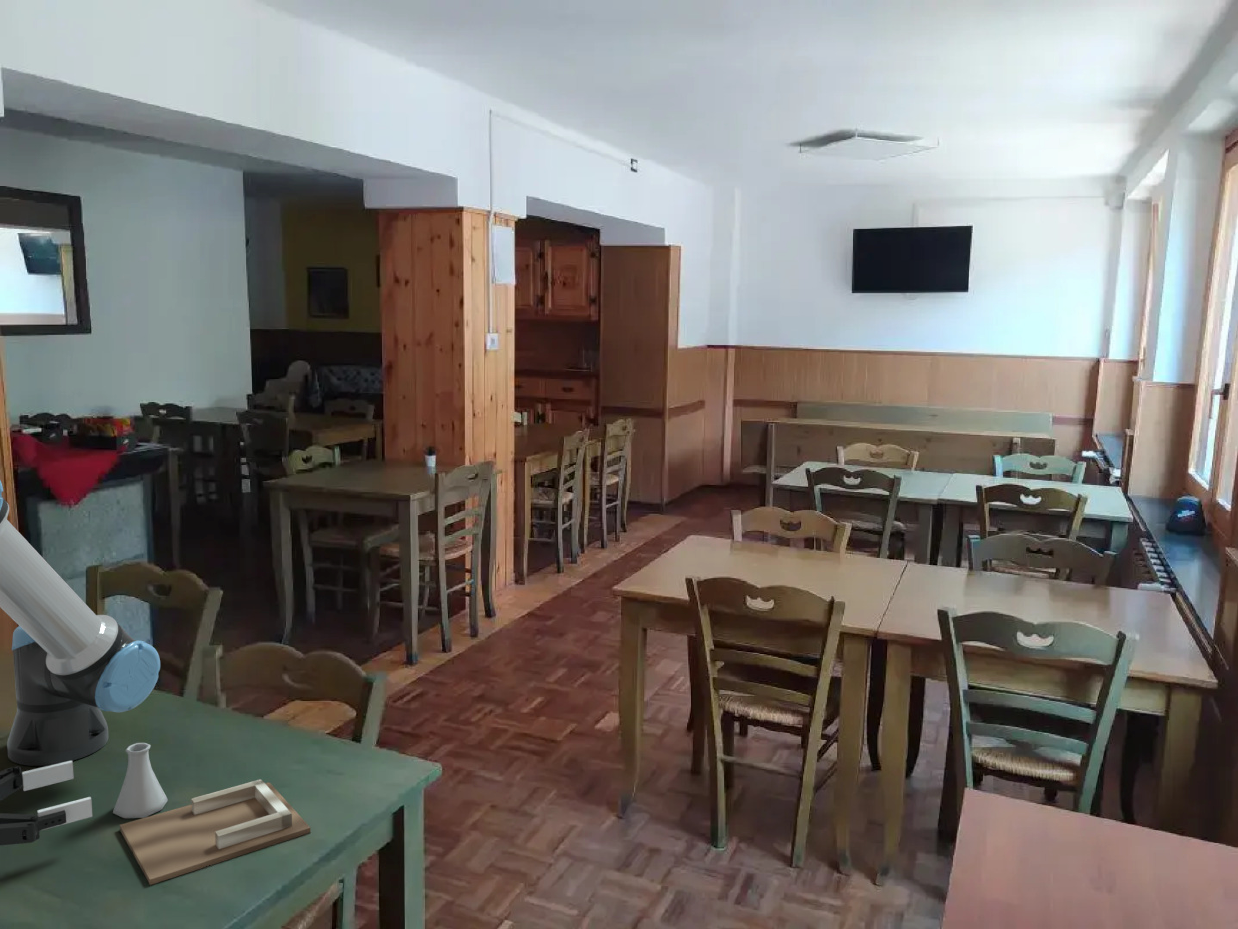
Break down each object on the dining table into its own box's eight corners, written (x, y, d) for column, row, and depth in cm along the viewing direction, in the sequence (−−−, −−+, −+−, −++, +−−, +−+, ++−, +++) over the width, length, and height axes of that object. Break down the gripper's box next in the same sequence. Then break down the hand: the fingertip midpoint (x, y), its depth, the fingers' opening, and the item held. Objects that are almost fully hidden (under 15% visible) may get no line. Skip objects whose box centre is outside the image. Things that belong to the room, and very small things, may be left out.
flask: (145, 823, 141) (142, 760, 140) (103, 816, 143) (100, 754, 141) (177, 799, 148) (174, 740, 147) (136, 793, 150) (133, 734, 148)
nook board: (119, 830, 139) (119, 812, 139) (269, 787, 153) (269, 770, 153) (150, 885, 126) (149, 866, 126) (310, 832, 140) (310, 815, 140)
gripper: (-102, 819, 136) (66, 778, 149) (-90, 905, 117) (101, 849, 131) (-106, 770, 135) (64, 733, 148) (-95, 849, 116) (98, 798, 129)
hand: (82, 787), depth 139 cm, fingers open, 13 cm apart
